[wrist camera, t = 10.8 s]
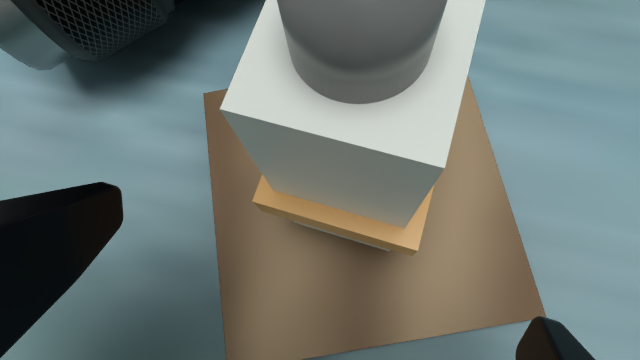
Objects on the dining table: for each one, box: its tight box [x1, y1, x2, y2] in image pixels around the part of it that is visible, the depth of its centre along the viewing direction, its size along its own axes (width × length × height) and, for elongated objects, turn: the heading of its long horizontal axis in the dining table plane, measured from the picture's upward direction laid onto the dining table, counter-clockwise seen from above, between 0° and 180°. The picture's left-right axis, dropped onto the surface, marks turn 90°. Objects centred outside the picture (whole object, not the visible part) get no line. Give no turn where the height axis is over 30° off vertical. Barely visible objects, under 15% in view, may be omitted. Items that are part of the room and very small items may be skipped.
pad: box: [203, 75, 546, 360], centre depth 17 cm, size 12×12×1 cm
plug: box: [220, 0, 486, 256], centre depth 11 cm, size 5×5×12 cm
